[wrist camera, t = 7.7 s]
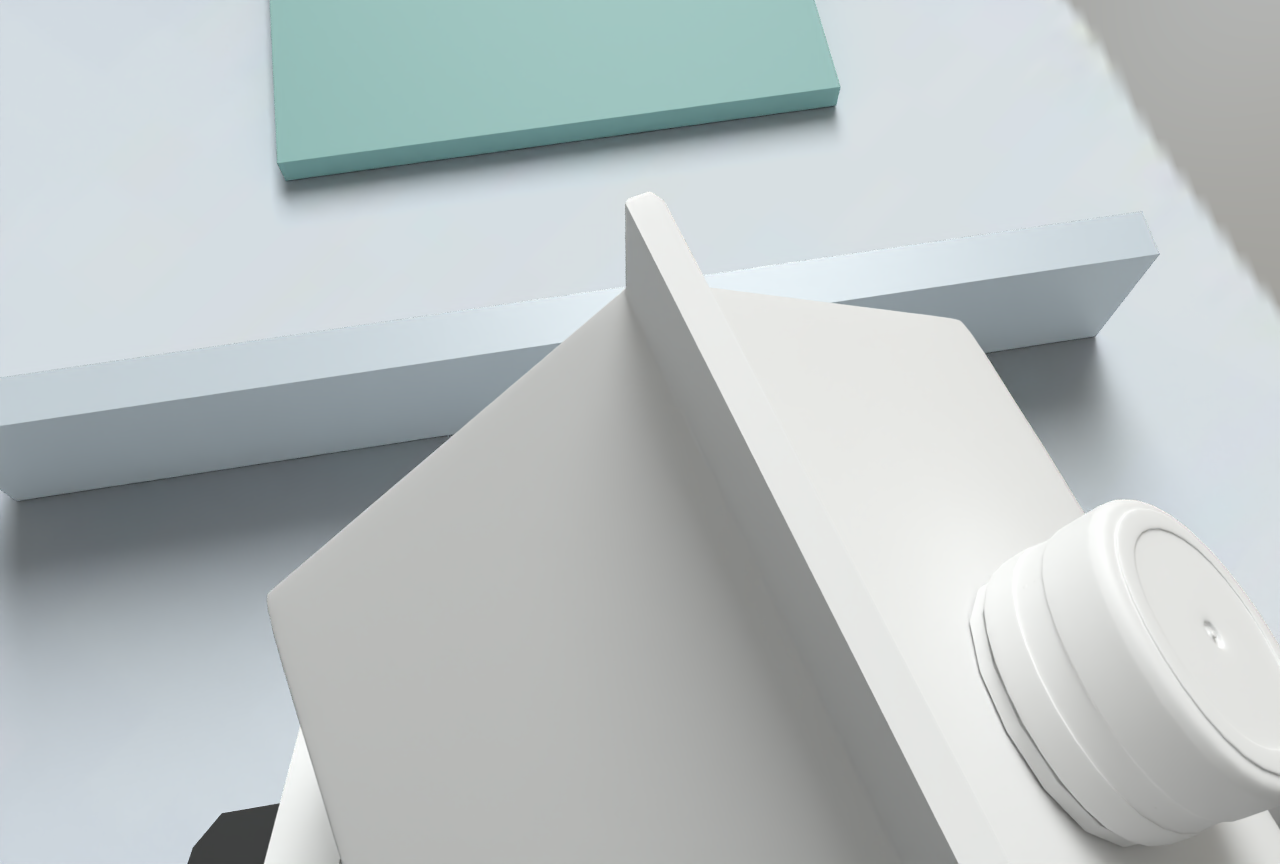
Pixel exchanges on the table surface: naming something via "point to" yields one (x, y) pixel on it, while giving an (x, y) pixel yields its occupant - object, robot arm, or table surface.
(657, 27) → the teal board
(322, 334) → the acrylic wall
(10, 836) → the table surface
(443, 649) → the milk carton
